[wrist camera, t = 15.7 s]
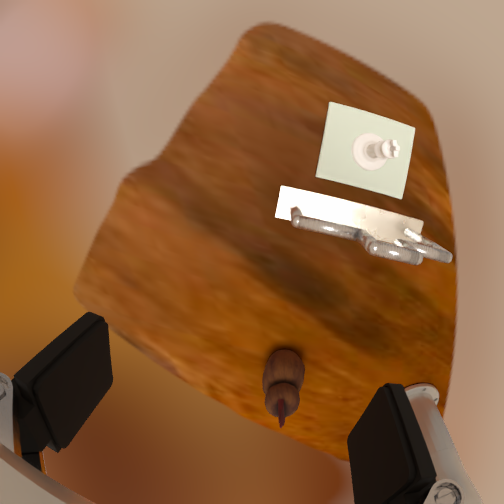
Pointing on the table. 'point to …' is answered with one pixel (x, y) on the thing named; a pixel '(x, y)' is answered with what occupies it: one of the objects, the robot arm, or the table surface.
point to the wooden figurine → (283, 383)
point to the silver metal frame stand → (360, 225)
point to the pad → (340, 159)
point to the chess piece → (373, 151)
